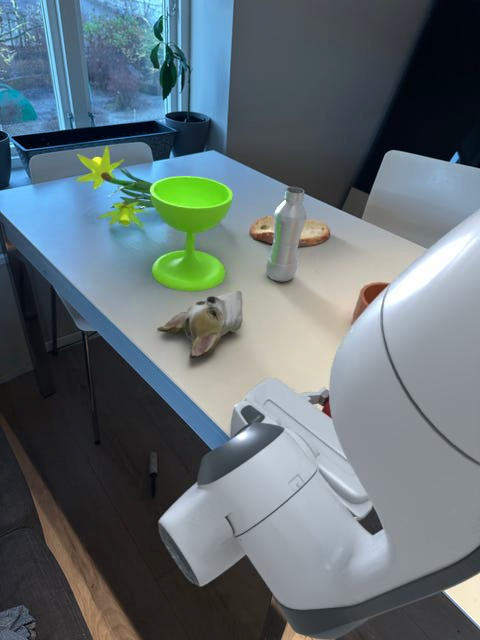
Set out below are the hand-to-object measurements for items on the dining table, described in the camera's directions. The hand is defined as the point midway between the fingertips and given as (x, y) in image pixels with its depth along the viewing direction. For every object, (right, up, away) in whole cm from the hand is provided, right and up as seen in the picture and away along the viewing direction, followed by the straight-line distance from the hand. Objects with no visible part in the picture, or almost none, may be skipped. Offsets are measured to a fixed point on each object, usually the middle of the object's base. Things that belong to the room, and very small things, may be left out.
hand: (347, 407), depth 61 cm
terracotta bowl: (+13, +10, +26) cm, 31 cm away
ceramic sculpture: (-21, +9, +19) cm, 30 cm away
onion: (-1, -5, +3) cm, 5 cm away
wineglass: (-26, +23, +36) cm, 50 cm away
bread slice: (-2, +34, +55) cm, 65 cm away
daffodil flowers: (-38, +38, +55) cm, 77 cm away
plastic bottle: (-6, +21, +38) cm, 44 cm away
